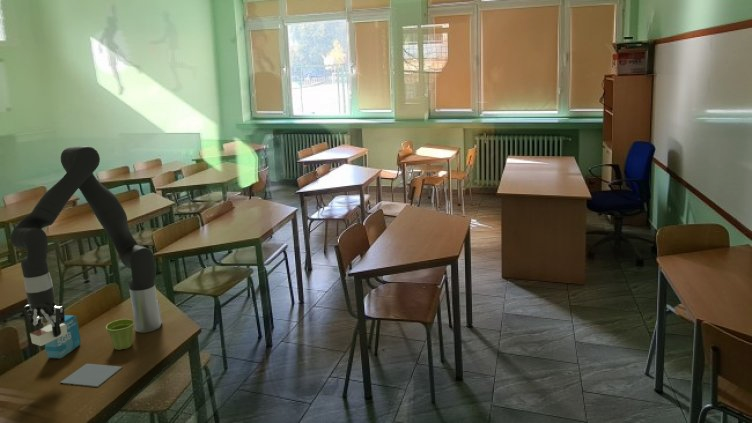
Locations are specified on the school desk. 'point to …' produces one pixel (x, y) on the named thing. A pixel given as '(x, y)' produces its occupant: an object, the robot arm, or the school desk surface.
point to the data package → (65, 339)
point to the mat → (91, 375)
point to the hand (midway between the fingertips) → (49, 335)
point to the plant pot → (121, 333)
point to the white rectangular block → (46, 334)
